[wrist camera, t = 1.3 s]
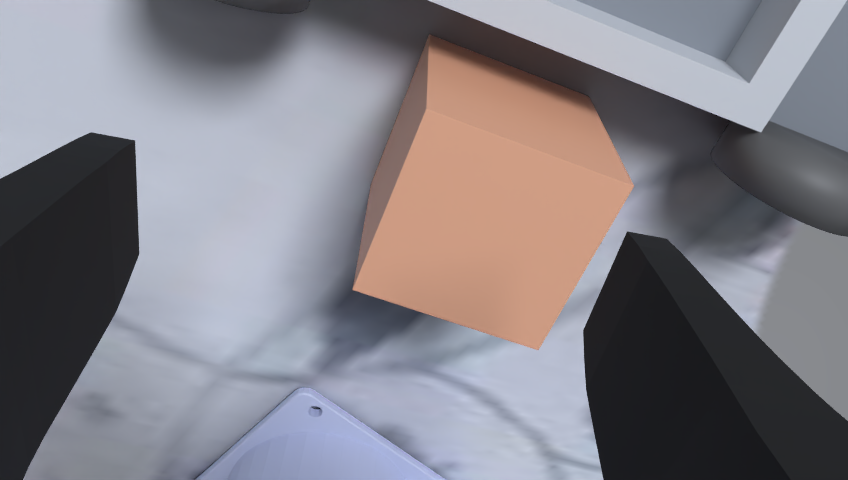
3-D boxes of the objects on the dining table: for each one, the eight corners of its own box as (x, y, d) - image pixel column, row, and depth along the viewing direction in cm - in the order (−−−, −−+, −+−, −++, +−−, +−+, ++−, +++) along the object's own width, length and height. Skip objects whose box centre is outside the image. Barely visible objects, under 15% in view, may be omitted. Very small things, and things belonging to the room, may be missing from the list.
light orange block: (588, 96, 22) (633, 186, 17) (517, 234, 25) (538, 350, 20) (429, 33, 22) (426, 108, 16) (371, 183, 24) (352, 289, 19)
